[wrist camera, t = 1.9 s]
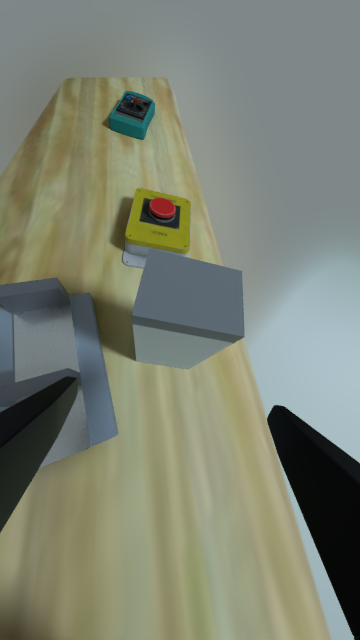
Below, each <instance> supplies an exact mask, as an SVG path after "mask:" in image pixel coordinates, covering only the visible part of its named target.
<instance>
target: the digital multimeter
mask: <svg viewBox="0 0 360 640" xmlns="http://www.w3.org/2000/svg"><path fill="white" fill-rule="evenodd" d="M154 112H155V103H154V102H153V100H151V99H150V98H148V97H146V96H144V95H141V94H139V93H135V92H131V91H126V92H125V93H124V94H123V97H122V98H121V100H120V102H119V103H118V104H117V106H116V107H115V109H114V110H113V111H112V112H111V114H110V115H109V125H110V129H111V130H114V131H116V132H119V133H122V134H124V135H127V136H131V137H134V138H138V139H141V140H143V139H144V138H145V135H146V131H147V128H148V126H149V123H150V121H151V119H152V117H153V116H154Z"/></svg>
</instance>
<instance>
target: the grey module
mask: <svg viewBox="0 0 360 640" xmlns="http://www.w3.org/2000/svg"><path fill="white" fill-rule="evenodd" d="M242 287H243V286H242V271H239V270H235V269H231V268H227V267H223V266H219V265H215V264H211V263H207V262H203V261H199V260H195V259H191V258H187V257H183V256H178V255H174V254H170V253H166V252H162V251H158V250H154V249H150V248H149V251H148V255H147V258H146V262H145V266H144V270H143V274H142V277H141V281H140V285H139V289H138V293H137V297H136V300H135V304H134V308H133V312H132V323H133V333H134V343H135V353H136V361H137V362H143V363H149V364H156V365H162V366H169V367H175V368H181V369H190V368H191V367H193V366H195V365H197V364H198V363H200V362H202V361H203V360H205V359H207V358H209V357H210V356H212V355H214V354H216V353H217V352H219V351H221V350H223V349H224V348H226V347H228V346H229V345H231V344H233V343H235V342H236V341H238V340H240V339H242V338H243V337H244V314H243V313H244V312H243V288H242Z"/></svg>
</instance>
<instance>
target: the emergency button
mask: <svg viewBox="0 0 360 640" xmlns="http://www.w3.org/2000/svg"><path fill="white" fill-rule="evenodd" d="M190 215H191V202H190V201H189V200H187V199H185V198H180V197H176V196H172V195H168V194H164V193H160V192H156V191H152V190H148V189H144V188H137V189H136V191H135V195H134V200H133V204H132V208H131V212H130V216H129V220H128V224H127V229H126V233H125V250H124V254H123V263H124V264H125V265H127V266H131V267H137V268H143V269H144V266H145V262H146V258H147V255H148V251H149V248H150V249H154V250H158V251H162V252H166V253H170V254H174V255H178V256H183V257H187V255H188V251H189V247H190Z"/></svg>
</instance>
